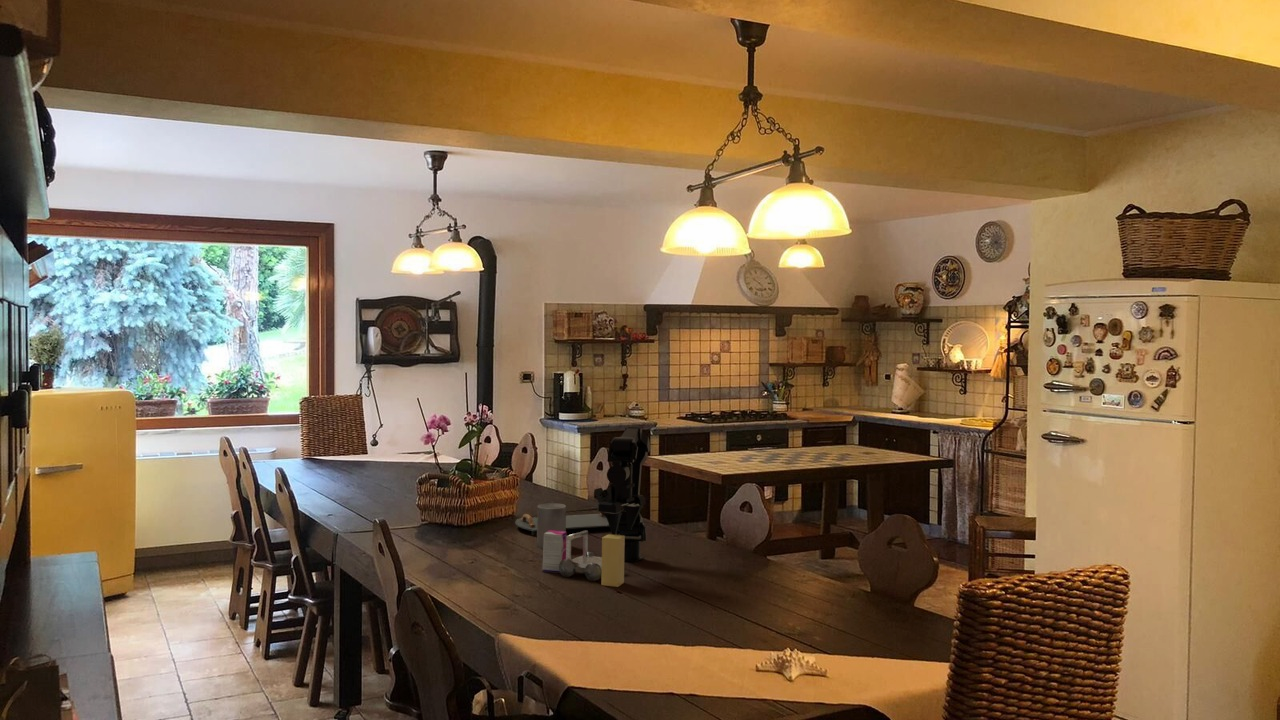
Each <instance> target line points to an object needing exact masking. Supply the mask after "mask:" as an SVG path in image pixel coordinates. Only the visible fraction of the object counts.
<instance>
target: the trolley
mask: <svg viewBox="0 0 1280 720" xmlns="http://www.w3.org/2000/svg"><path fill="white" fill-rule="evenodd" d="M578 538H582V555H580V556H577V557H575V558H572V541H573V540H575V539H578ZM588 538H589V531H588V530H586V529H585V530H582V531H580V532H579V531H578V532H576V533H572V534H569V535H567V536H566V559H565V560H562V561H561V562H560V564H559V571H560V575H561V576H562V577H564V578H569V577H571V576H573V575H575V573H576V570H577V568H581V569H584V575H585V577H586V579H587V580H588V581H590V582H596V581H599V580H600V579H601V575H602V556H597V555H596V554H595V553H594V552H593V551H589V549H588V547H589V545H588V542H589V541H588V540H589V539H588Z"/></svg>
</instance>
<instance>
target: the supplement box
mask: <svg viewBox="0 0 1280 720" xmlns="http://www.w3.org/2000/svg"><path fill="white" fill-rule="evenodd" d="M566 536H568V535H567V531H566V532H564V531H551V530H549V531H548V532H546V533H544V545H543V551H542V571H543V572H544V573H556V574H557V573H558V574H559V573H560V571H559V564H560V562H561V561H562V560H565V559H566ZM560 574H561V573H560Z"/></svg>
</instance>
